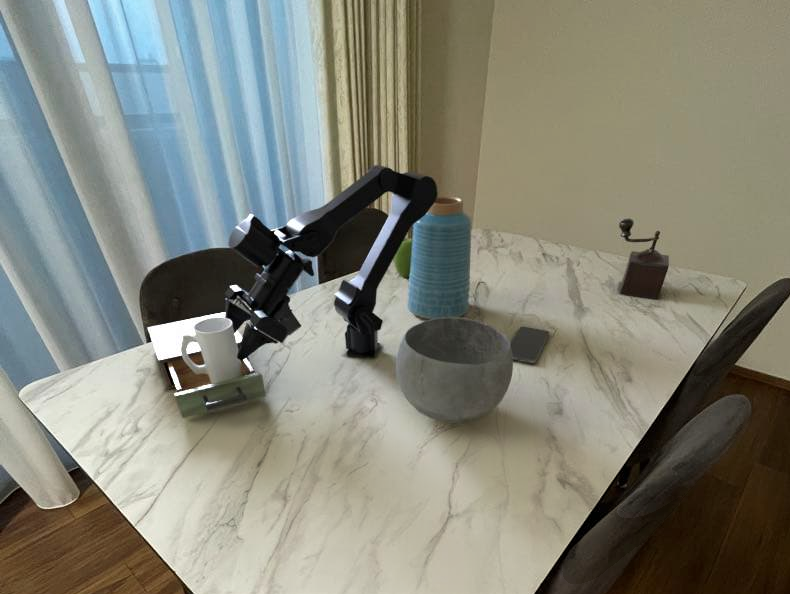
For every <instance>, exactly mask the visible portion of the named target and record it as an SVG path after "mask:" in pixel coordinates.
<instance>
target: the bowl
mask: <svg viewBox="0 0 790 594" xmlns="http://www.w3.org/2000/svg"><path fill="white" fill-rule="evenodd" d="M510 343H511V341H510V340H509V338H508V337H507V336H506V335H505V334H504V333H502V332H501V331H499V330H498V329H497V328H496V327H494V326H493V325H490V324H488V323H485V322H481V321H479V320H477V319H473V318H468V317H441V318H434V319H431V320H427V319H426V320H425V321H422V322H419V323H417V324H415V325H412V326H411V327H409V329H407V330H406V331H405V334H404V335H403V337H402V339H401V340H400V344H399V347H398V350H397V353H396V358H395V374H396V375H395V376H396V381H397V384H398V387H399V390H400V392H401V393H402V395H403V397H404V398H405V399H406V401H407V402H408V403H409V404H410V405H411V406H412V407H413V408H414V409H415V410H416V411H417V412H419V413H420V414H422V415H424V416H426V417H428V418H430V419H432V420H436V421H438V422H439V421H440V422H442V423H448V424H449V423H450V424H460V423H461V424H462V423H468V422H471V421H475V420H477V419H479V418H481V417H483V416H485V415H487V414H489V413H490V412H492V411H493V410H494V409H495V408H497V406H498V405H499V404H500V403H501V402H502V400H503V399H504V397H505V396H506V394H507V392H508V390H509V387H510V384H511V380H512V378H513V370H514V360H513V355H512V350H511V345H510Z"/></svg>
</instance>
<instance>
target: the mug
mask: <svg viewBox="0 0 790 594" xmlns="http://www.w3.org/2000/svg"><path fill="white" fill-rule="evenodd" d="M193 329H194V331H195V335H190V334H182V342H181V354H182V357H183V359H184V361H185V362H186V364H187V365H188V366H189V367H190V368H191V369H192V371H193V372H194V373H195V374H208V375H209V378H210V381H211V384H213V383H217V382H221V381H225V380H229V379H233V378H237V377H241V376H244V375H243V370H242V365H241V361H240V360H239V359H238V358H237V354H238V347H237V342H236V338H235V333H234V329H233V325H232V321H231V320H230V319H228V318H223V317H214V318H208V319H204V320H201V321H199V322H197V323H196V324H195V325H194V326H193ZM192 342H196V343H198V345H199V347H200V350H201V353H202V356H203V359H204V363H205V364H204V365H201V366H198V365H196V364H194V363H193V362H192V361H191V359H190V358H189V356H188V354H187V347H188V345H189V344H190V343H192Z"/></svg>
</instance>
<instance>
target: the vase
mask: <svg viewBox="0 0 790 594" xmlns="http://www.w3.org/2000/svg"><path fill="white" fill-rule="evenodd" d="M472 223H473V219H472V217H471V216H470V215H469V214H467V213H466V212H465V211H464V200H463V199H462V198H460V197H457V196H449V195H437V198H436V201H435V203H434V204H433V205H432V207H431V208H430V209H429V211H428V212H427V213H426V215H425V216H424V217H422V218H421V219H420V220H418V221H417V222H416V223H414V224H413V225H412V236H411V237H412V238H411V239H412V251H411V264H410V265H411V266H410V274H409V276H408V277H409V278H408V286H407V287H408V293H407V302H406V304H407V305H406V306H407V308H408V309H407V310H408V311H409V312H411V313H412V314H413V315H415V316H416V317H418V318H421V319H423V320H426V321H427V320H431V319H434V318H441V317H459V318H461V317H463V316H464V315H466V313H467V312H468V311H469V308H470V301H469V300H470V290H471V289H470V287H471V286H470V285H471V280H470V279H471V274H470V272H471V253H472V252H471V251H472V249H471V248H472V226H473V225H472Z"/></svg>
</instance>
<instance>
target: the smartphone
mask: <svg viewBox="0 0 790 594" xmlns="http://www.w3.org/2000/svg"><path fill="white" fill-rule="evenodd" d="M549 335H550V331H549V330H546V329H540V328H535V327H530V326H524V325H522V326H519V327H518V329H517V331H516V333H515V334H514V336H513V337H512V339H511V341H510V345H511V350H512V355H513V361H517V362H522V363H527V364H535V363H537V360H538V358H539V356H540V354H541V352H542V349H543V348H544V345H545V344H546V341H547V340H548V339H549V338H548V337H549Z"/></svg>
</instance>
